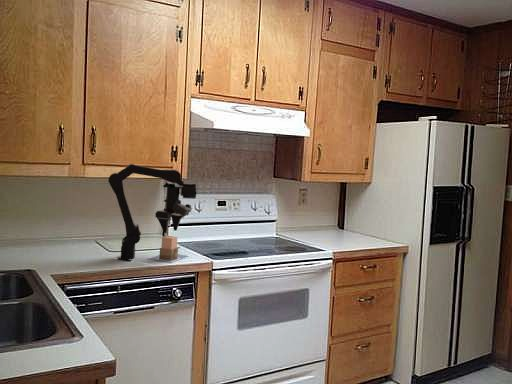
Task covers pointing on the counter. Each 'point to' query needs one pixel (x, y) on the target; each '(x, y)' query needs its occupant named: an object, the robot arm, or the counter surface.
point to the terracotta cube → (169, 242)
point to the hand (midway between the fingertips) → (170, 231)
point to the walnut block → (168, 254)
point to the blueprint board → (167, 260)
